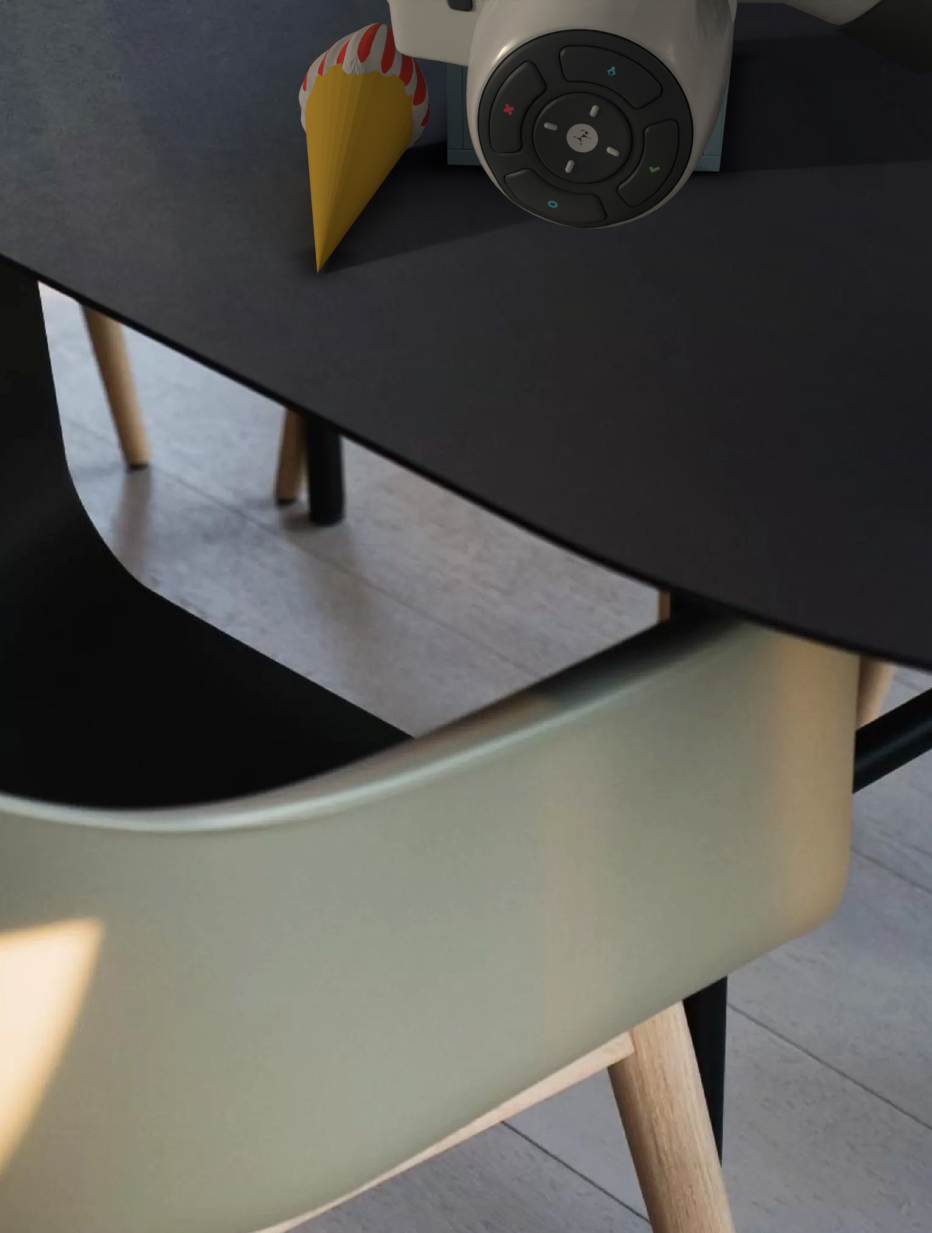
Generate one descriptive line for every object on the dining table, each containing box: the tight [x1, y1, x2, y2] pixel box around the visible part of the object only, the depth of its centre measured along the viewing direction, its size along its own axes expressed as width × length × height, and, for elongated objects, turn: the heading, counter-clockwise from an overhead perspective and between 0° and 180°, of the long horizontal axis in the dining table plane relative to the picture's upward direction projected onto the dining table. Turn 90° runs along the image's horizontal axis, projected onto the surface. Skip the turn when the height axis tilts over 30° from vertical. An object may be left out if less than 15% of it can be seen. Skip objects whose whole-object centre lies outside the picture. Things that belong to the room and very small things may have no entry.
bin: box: [445, 24, 735, 173], centre depth 113 cm, size 14×16×9 cm
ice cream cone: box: [298, 22, 430, 274], centre depth 108 cm, size 6×6×20 cm
